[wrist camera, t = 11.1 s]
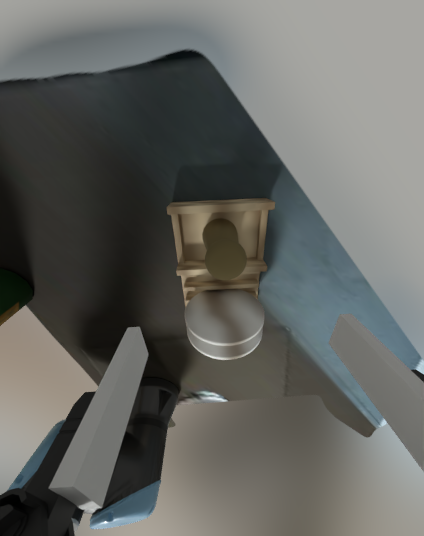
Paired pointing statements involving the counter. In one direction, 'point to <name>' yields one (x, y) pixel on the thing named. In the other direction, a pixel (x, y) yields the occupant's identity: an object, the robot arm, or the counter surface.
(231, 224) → the cork
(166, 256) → the counter surface
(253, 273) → the rack
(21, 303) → the bottle
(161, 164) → the counter surface
